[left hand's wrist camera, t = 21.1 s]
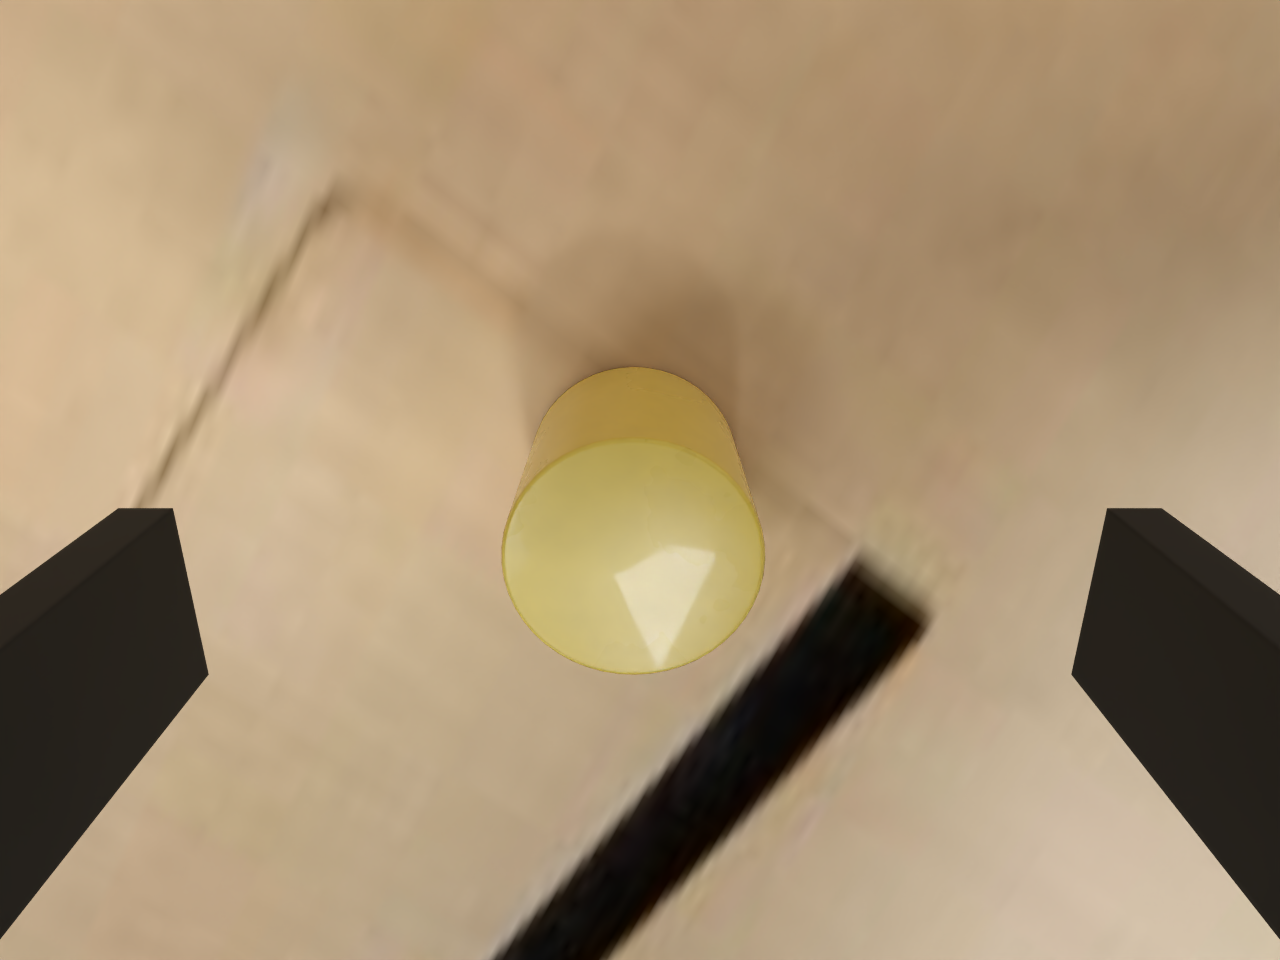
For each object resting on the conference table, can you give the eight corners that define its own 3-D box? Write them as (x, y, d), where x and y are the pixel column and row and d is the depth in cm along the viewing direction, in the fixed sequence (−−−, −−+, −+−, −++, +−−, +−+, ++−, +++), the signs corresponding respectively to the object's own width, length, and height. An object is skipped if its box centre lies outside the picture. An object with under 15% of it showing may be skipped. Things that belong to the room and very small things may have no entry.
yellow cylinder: (776, 481, 18) (817, 583, 14) (618, 592, 19) (612, 718, 15) (652, 323, 17) (657, 383, 13) (489, 449, 18) (445, 543, 14)
